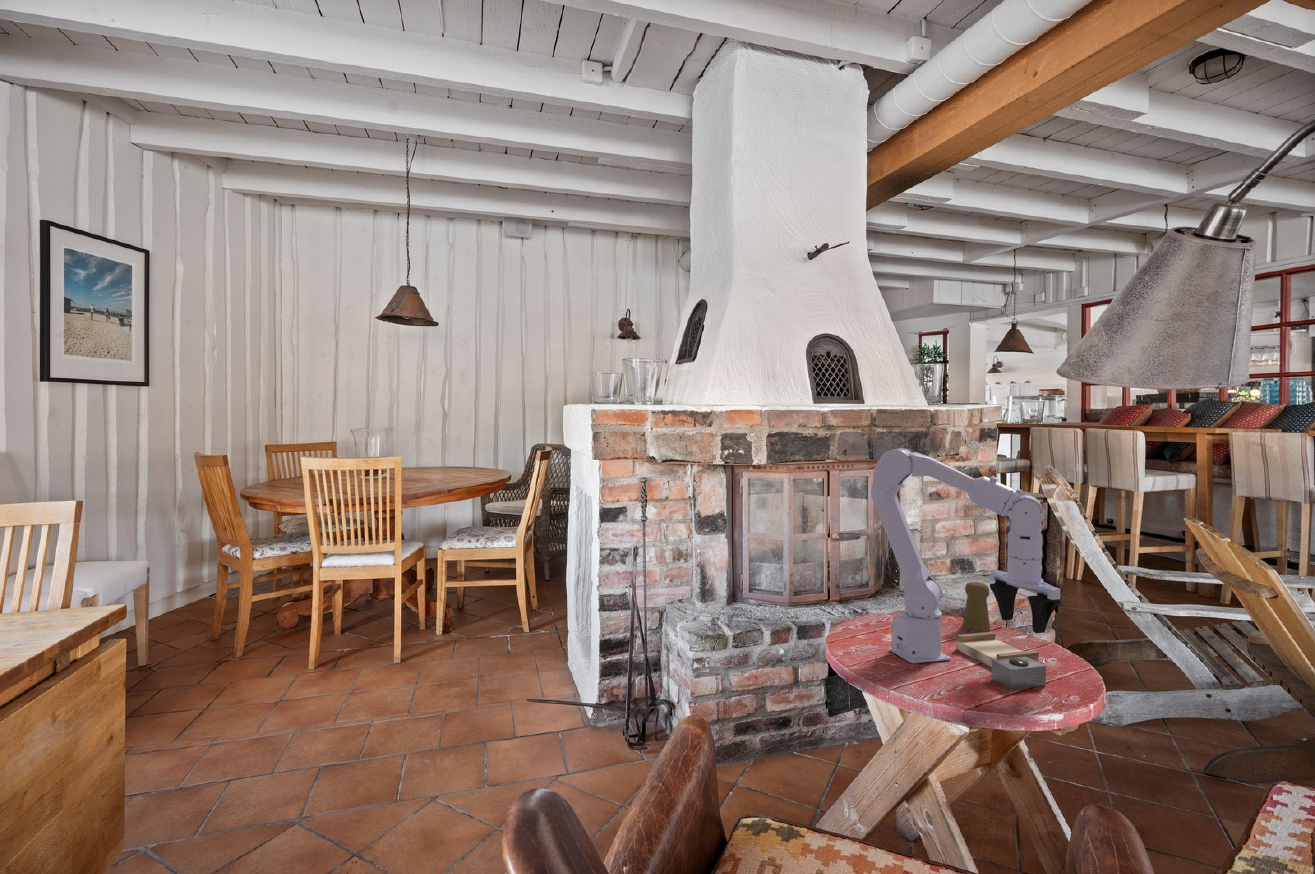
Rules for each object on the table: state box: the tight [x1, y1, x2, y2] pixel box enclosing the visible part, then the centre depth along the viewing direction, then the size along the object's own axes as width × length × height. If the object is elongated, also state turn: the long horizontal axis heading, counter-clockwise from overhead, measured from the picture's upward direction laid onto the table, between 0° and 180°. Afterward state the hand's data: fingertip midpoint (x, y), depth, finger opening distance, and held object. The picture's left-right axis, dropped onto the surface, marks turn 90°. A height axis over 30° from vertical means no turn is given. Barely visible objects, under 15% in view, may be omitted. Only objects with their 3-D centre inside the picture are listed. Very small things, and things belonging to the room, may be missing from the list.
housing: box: [991, 657, 1047, 691], centre depth 118 cm, size 8×5×4 cm, turn 105°
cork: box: [961, 581, 991, 633], centre depth 148 cm, size 6×6×11 cm
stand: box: [956, 631, 1040, 668], centre depth 130 cm, size 12×9×3 cm
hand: (1022, 625), depth 122 cm, fingers open, 7 cm apart
